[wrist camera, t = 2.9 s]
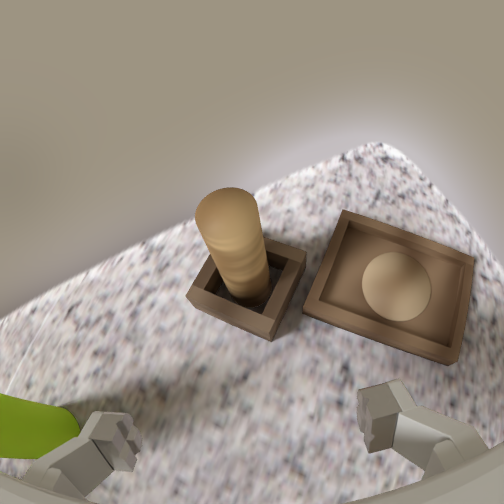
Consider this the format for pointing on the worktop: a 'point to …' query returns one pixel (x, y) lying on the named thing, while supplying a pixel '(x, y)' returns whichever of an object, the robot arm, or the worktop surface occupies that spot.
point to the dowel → (236, 244)
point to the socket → (243, 318)
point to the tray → (393, 288)
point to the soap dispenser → (33, 428)
